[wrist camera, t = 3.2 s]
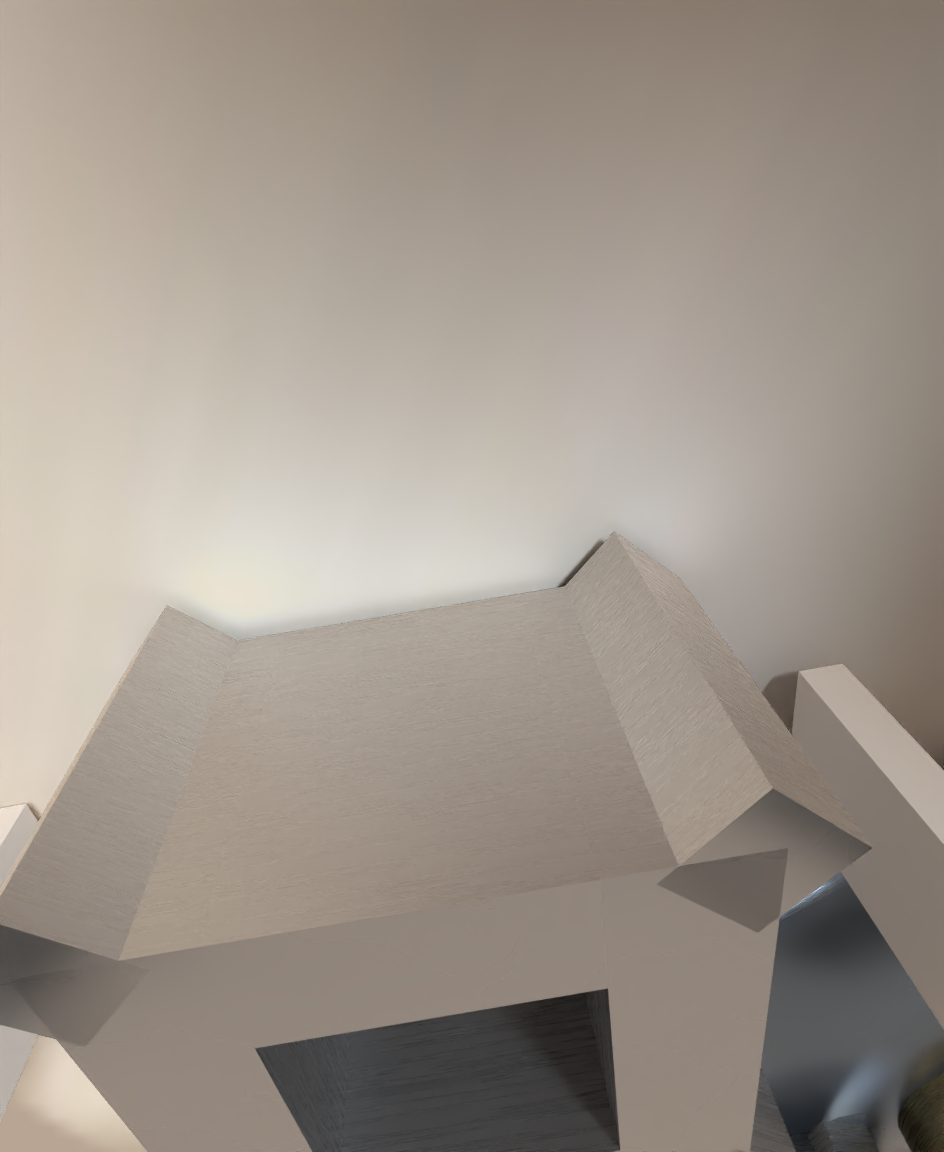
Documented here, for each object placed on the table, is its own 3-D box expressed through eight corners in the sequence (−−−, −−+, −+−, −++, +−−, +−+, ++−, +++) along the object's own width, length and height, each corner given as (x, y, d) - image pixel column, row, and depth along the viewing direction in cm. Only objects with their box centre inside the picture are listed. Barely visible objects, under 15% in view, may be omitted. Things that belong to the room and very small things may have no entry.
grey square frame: (99, 616, 10) (-133, 940, 6) (680, 520, 10) (889, 768, 6) (267, 962, 14) (207, 1301, 10) (676, 893, 14) (796, 1198, 10)
